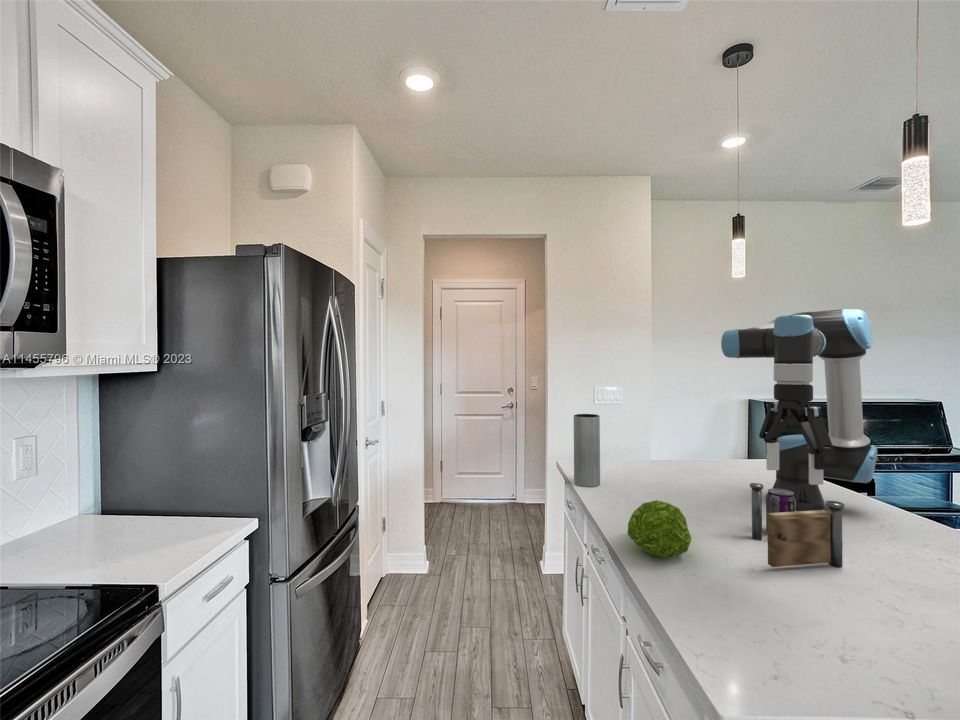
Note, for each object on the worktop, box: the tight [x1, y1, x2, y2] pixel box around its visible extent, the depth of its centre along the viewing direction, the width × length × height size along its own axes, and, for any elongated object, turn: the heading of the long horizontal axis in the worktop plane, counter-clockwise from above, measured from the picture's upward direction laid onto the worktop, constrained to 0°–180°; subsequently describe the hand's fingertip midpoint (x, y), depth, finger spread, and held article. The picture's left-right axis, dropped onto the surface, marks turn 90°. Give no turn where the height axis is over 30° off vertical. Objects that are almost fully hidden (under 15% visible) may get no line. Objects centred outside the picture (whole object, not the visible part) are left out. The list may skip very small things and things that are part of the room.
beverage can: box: [765, 487, 797, 532], centre depth 135 cm, size 7×7×12 cm
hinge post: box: [825, 500, 845, 568], centre depth 115 cm, size 4×4×15 cm
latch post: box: [749, 482, 764, 541], centre depth 132 cm, size 3×3×15 cm
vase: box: [573, 413, 601, 488], centre depth 190 cm, size 10×10×27 cm
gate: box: [767, 509, 831, 568], centre depth 113 cm, size 15×3×12 cm, turn 98°
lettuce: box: [627, 499, 692, 559], centre depth 127 cm, size 15×24×14 cm, turn 156°
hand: (793, 476), depth 110 cm, fingers open, 13 cm apart
